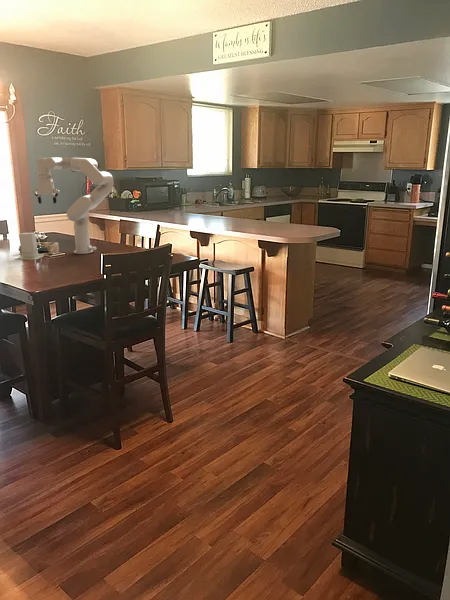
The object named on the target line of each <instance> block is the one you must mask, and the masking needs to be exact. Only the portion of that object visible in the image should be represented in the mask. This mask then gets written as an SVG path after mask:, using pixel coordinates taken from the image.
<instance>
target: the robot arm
mask: <svg viewBox="0 0 450 600" xmlns="http://www.w3.org/2000/svg"><path fill="white" fill-rule="evenodd" d="M36 166H37V174H38V180H37V188H35V189H34V190H33V191H32V193H33V194H34V196H35V197H36V198H37V201H38V204H42V203H43V201H42V197H41V196H42V195H43V196H45V195H46V196H47V195H51V196H52V201H53V204H54V205H55V204H57V196H59V193H60V190H59V189H58V188H55V186H54V185H55V183H54V180H53V177H54V176H53V175H52V174H51V170H68V171H70V170H71V171H73V172H82V173H83V174H84V176H86V177H87V179H89V181H90V182H92V184H94V185H96V186H97V187H95V188H94V189H93V190H92V191H91V192H90V193H89V194H87V195H82V196H80V197H79V198H77V200H76V201H74V203H73V204H71V205H70V207H69V208H68V209H67V211H66V217H67V219H68V220H69V221H71V222H73V230H74V231H73V233H74V241H75V250H73V254H77V255H79V254H80V255H83V254H84V255H85V254H91V253H93V252H94V251H96V250H97V247H96V246H92V244H91V241H90V228H89V227H90V225H89V220H90V219H89V217H90V212H89V211H92V210H93V209H96V208H97V207H98V205H99V204H101V202H103V200H105V198H107V196H108V195H109V194H110V193H111V192H112V190H113V187H114V178H113V175H112V174H111V173H110V172H108V171H100V170H99V169H98V167H99V165H98V162H97V160H96V159H93V158H89V157H88V158H87V157H56V156H55V157H53V156H52V157H38V158H36Z"/></svg>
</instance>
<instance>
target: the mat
mask: <svg viewBox="0 0 450 600" xmlns="http://www.w3.org/2000/svg"><path fill="white" fill-rule="evenodd" d="M43 257H45V255H44V254H38V256H37V257H35V258H23V256H22V255H20V256H19V257H16V258H15V260H29V261H30V260H31V261H32V260H35V261H36V260H39V259H41V258H43Z"/></svg>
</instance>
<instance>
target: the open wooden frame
mask: <svg viewBox="0 0 450 600" xmlns="http://www.w3.org/2000/svg"><path fill="white" fill-rule="evenodd" d="M39 244H41V245H44V246H45V247H47V249H48V251H49V252H48V255H49V254H52V255H54V254H56V253H58V252H59V251H60V248H59V242H37V245H39ZM18 247H19V254H20V256H22V250H21V245H19V246H18ZM53 253H54V254H53Z"/></svg>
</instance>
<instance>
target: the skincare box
mask: <svg viewBox="0 0 450 600" xmlns="http://www.w3.org/2000/svg"><path fill="white" fill-rule="evenodd" d="M18 236H19V241H20V246H21V250H22V255H21V256H23V258H35V257H37V256H38V255H39V252H38V249H37V243H38V242H37V236H36V231H35V232H22V233H20V234H19V235H18Z"/></svg>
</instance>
